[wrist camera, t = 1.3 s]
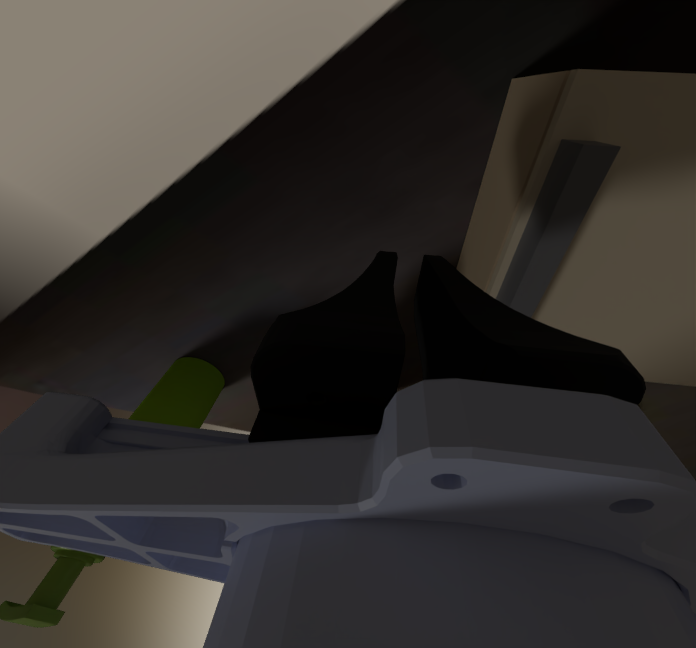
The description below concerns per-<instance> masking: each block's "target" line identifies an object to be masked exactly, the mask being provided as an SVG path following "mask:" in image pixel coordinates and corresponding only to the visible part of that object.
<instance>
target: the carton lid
mask: <svg viewBox="0 0 696 648" xmlns="http://www.w3.org/2000/svg"><path fill="white" fill-rule="evenodd" d="M486 293H487V294H489V295H490V296H492V297H493V298H495V299H496V300H498V301H500V302H502V303H503V304H505V305H507V306H508V307H510V308H512V309H514V310H516V311H518V312H520V313H522V314H524V315H526V316H528V317H530V318H532V319H534V320H537V321H539V322H541V323H544V324H546V325H548V326H551V327H554V328H556V329H559V330H562V331H564V332H567V333H570V334H572V335H575V336H578V337H581V338H585V339H588V340H591V341H595V342H598V343H601V344H604V345H608V346H611V347H614V348H617V349H620V350H621V351H622V353H623V354H624V355H625V356H626V357H627V359H628V360H629V361H630V362H631V363H632V364H633V366H634V367H635V368H636V369H637V370H638V372H639V373H640V374H641V375H642V376H643V378H644V381H647V382H656V383H666V384H675V385H685V386H694V387H696V74H690V73H665V72H640V71H615V70H591V69H575V70H571V71H570V74H569V77H568V79H567V82H566V84H565V87H564V90H563V92H562V95H561V97H560V100H559V103H558V105H557V108H556V111H555V113H554V116H553V118H552V121H551V124H550V126H549V129H548V131H547V134H546V137H545V139H544V142H543V144H542V147H541V150H540V152H539V155H538V158H537V160H536V163H535V165H534V168H533V171H532V173H531V176H530V178H529V181H528V184H527V186H526V189H525V192H524V194H523V197H522V199H521V202H520V205H519V207H518V210H517V212H516V215H515V218H514V220H513V223H512V225H511V228H510V231H509V233H508V236H507V239H506V241H505V244H504V246H503V249H502V252H501V254H500V257H499V259H498V262H497V265H496V267H495V270H494V273H493V275H492V278H491V280H490V283H489V286H488V288H487V291H486Z"/></svg>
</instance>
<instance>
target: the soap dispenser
mask: <svg viewBox="0 0 696 648" xmlns="http://www.w3.org/2000/svg"><path fill="white" fill-rule="evenodd" d="M224 384H225V381H224V377H223V375H222V374H221V373H220V371H219V370H218V369H217V368H216V367H214V366H213V365H211V364H210V363H208V362H206V361H204V360H201V359H198V358H193V357H183V358H180V359H178V360H176V361H175V362H174V363H173V365H172V366H171V367H170V368H169V370H168V371H167V372H166V373H165V374H164V376H163V377H162V378H161V379H160V381H159V382H158V383H157V384H156V386H155V387H154V388H153V389H152V391H151V392H150V393H149V394H148V395H147V397H146V398H145V399H144V400H143V402H142V403H141V404H140V405H139V407H138V408H137V409H136V410H135V411H134V413H133V414H132V415H131V416H130V418H129V419H130V420H138V421H146V422H153V423H161V424H169V425H176V426H184V427H192V428H199V429H200V427H201V425H202V424H203V422H204V420H205V418H206V417H207V415H208V413H209V412H210V410H211V408H212V406H213V405H214V403H215V401H216V399H217V398H218V396H219V394H220V392H221V391H222V389H223V387H224ZM51 550H52V551H54V552H55V554H54V557H55V558H57V561H56V562H55V564H54V565H53V566H52V568H51V569H50V571H49V572H48V573H47V575H46V576H45V578H44V579H43V580H42V582H41V583H40V585H39V586H38V587H37V589H36V590H35V592H34V593H33V595H32V596H31V597H30V599H29V600H28V601H27V603H26V604H25V605H21V604H17V603H13V602H9V601H5V602H3V603H2V604H1V605H0V619H2V620H4V621H9V622H13V623H18V624H22V625H27V626H33V627H48V626H54V625H57V624H58V623H59V621H60V619H61V618H62V616H63V615H64V613H65V612H64V611H60V610H56V609H57V608H58V606H59V605H60V603H61V602H62V600H63V599H64V597H65V595H66V594H67V592H68V591H69V589H70V588H71V586H72V585H73V583H74V582H75V580H76V578H77V577H78V575H79V574H80V572H81V571H82V569H83V568H84V566H91V565H92V564H93V563H100V562H102V561H103V560H104V558H105V557H106V556H101V555H97V554H92V553H87V552H82V551H77V550H72V549H67V548H62V547H56V546H51Z"/></svg>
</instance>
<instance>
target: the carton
mask: <svg viewBox="0 0 696 648" xmlns="http://www.w3.org/2000/svg"><path fill="white" fill-rule="evenodd" d="M569 74H570V71H561V72H555V73H548V74H541V75H534V76H528V77H521V78H514V79H512V81H511V84H510V88H509V91H508V95H507V98H506V101H505V105H504V108H503V112H502V115H501V119H500V122H499V125H498V129H497V132H496V136H495V139H494V142H493V146H492V149H491V153H490V156H489V159H488V163H487V166H486V170H485V173H484V176H483V180H482V183H481V187H480V190H479V193H478V197H477V200H476V204H475V207H474V211H473V214H472V217H471V221H470V224H469V228H468V231H467V234H466V238H465V241H464V245H463V248H462V251H461V255H460V258H459V262H458V265H457V268H456V269H457V270H458V271H459V272H460V273H461V274H463V275H464V276H465V277H466V278H467V279H469V280H470V281H471V282H472V283H474V284H475V285H476V286H477V287H479V288H480V289H482V290H483V291H484V292H486V291H487V288H488V286H489V283H490V280H491V278H492V275H493V273H494V270H495V267H496V265H497V262H498V259H499V257H500V254H501V252H502V249H503V246H504V244H505V241H506V239H507V236H508V233H509V231H510V228H511V225H512V223H513V220H514V218H515V215H516V212H517V210H518V207H519V205H520V202H521V199H522V197H523V194H524V192H525V189H526V186H527V184H528V181H529V178H530V176H531V173H532V171H533V168H534V165H535V163H536V160H537V158H538V155H539V152H540V150H541V147H542V144H543V142H544V139H545V137H546V134H547V131H548V129H549V126H550V124H551V121H552V118H553V116H554V113H555V111H556V108H557V105H558V103H559V100H560V97H561V95H562V92H563V90H564V87H565V84H566V82H567V79H568V77H569Z"/></svg>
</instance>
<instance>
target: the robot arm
mask: <svg viewBox="0 0 696 648" xmlns="http://www.w3.org/2000/svg"><path fill="white" fill-rule="evenodd" d="M397 259H398V257H397V253H396V252H385V251H380V252H378V253H377V255H376V257H375V259H374V260H373V262H372V263H371V264H370V266H369V267H368V268H367V269H366V270H365V272H364V273H363V274H362V275H361V276H360V277H359V278H358V279H357V280H356V281H355V282H353V283H352V284H351V285H350V286H349V287H347V288H346V289H345V290H343V291H342V292H340V293H338V294H336V295H335V296H333V297H331V298H329V299H327V300H325V301H323V302H321V303H318V304H316V305H313V306H310V307H308V308H305V309H301V310H297V311H294V312H290V313H286V314H282V315H279V316H278V318H277V319H276V321H275V322H274V323H273V325H272V326H271V327H270V329H269V330H268V332H267V333H266V335H265V336H264V338H263V340H262V342H261V344H260V346H259V348H258V350H257V352H256V354H255V356H254V358H253V361H252V364H251V378H252V382H253V386H254V390H255V393H256V397H257V401H258V405H259V409H260V411H259V413H258V415H257V418H256V420H255V423H254V425H253V428H252V430H251V433H250V435H245V434H237V433H230V432H222V431H215V430H207V429H199V428H192V427H184V426H176V425H169V424H161V423H153V422H146V421H138V420H130V419H122V418H114V417H112V415H111V413H110V412H109V410H108V409H107V407H106V406H105V405H104V404H103V403H101V402H100V401H98V400H96V399H94V398H91V397H88V396H81V395H73V394H65V393H57V392H46V393H45V394H44V395H43V396H42V397H41V398H40V399H39V400H37V401H36V402H35V403H34V404H33V405H32V406H31V407H29V408H28V409H27V410H26V411H25V412H24V413H23V414H22V415H20V416H19V417H18V418H17V419H16V420H15V421H14V422H13V423H11V424H10V425H9V426H8V427H7V428H6V429H5V430H3V431H2V432H1V433H0V531H1V532H3V533H5V534H7V535H9V536H12V537H14V538H16V539H18V540H22V541H28V542H34V543H39V544H45V545H51V546H56V547H62V548H67V549H72V550H77V551H82V552H87V553H92V554H97V555H101V556H106V557H110V558H115V559H120V560H124V561H129V562H133V563H138V564H142V565H146V566H151V567H155V568H159V569H164V570H169V571H173V572H177V573H181V574H186V575H190V576H195V577H200V578H203V579H208V580H212V581H217V582H221V583H225V584H224V587H223V590H222V593H221V596H220V599H219V602H218V605H217V607H216V611H215V614H214V617H213V620H212V623H211V626H210V628H209V632H208V634H207V637H206V640H205V643H204V646H203V648H696V481H695V479H694V478H693V477H692V476H691V474H690V473H689V472H688V470H687V469H686V468H685V466H684V465H683V464H682V463H681V461H680V460H679V459H678V457H677V456H676V455H675V453H674V452H673V451H672V450H671V448H670V447H669V446H668V444H667V443H666V442H665V440H664V439H663V438H662V437H661V435H660V434H659V433H658V431H657V430H656V429H655V427H654V426H653V425H652V424H651V422H650V421H649V420H648V418H647V417H646V416H645V414H644V413H643V412H642V410H641V409H640V408H639V407H638V404H639V403H640V402H641V400H642V398H643V395H644V393H645V390H646V386H645V381H644V378H643V376H642V375H641V374H640V373H639V372H638V370H637V369H636V368H635V367H634V366H633V364H632V363H631V362H630V361H629V360H628V359H627V357H626V356H625V355H624V354H623V353H622V351H621V350H620V349H617V348H614V347H611V346H608V345H604V344H601V343H598V342H595V341H591V340H588V339H585V338H581V337H578V336H575V335H572V334H570V333H567V332H564V331H562V330H559V329H556V328H554V327H551V326H548V325H546V324H544V323H541V322H539V321H537V320H534V319H532V318H530V317H528V316H526V315H524V314H522V313H520V312H518V311H516V310H514V309H512V308H510V307H508V306H507V305H505V304H503V303H502V302H500V301H498V300H496V299H495V298H493V297H492V296H490V295H489V294H487V293H486V292H484V291H483V290H482V289H480V288H479V287H477V286H476V285H475V284H474V283H472V282H471V281H470V280H469V279H467V278H466V277H465V276H464V275H463V274H461V273H460V272H459V271H458V270H457V269H456V268H455V267H453V266H452V265H451V264H450V263H449V262H448V261H447V260H445V259H444V258H443V257H441V256H433V255H424V257H423V262H422V266H421V271H420V276H419V280H418V285H417V290H416V294H415V299H414V320H415V327H416V333H417V339H418V345H419V351H420V357H421V363H422V372H423V381H421V382H418V383H416V384H414V385H412V386H409V387H407V388H405V389H403V390H400V391H398V392H397V387H398V383H399V378H400V374H401V369H402V365H403V360H404V356H405V337H404V333H403V330H402V328H401V325H400V322H399V319H398V315H397V310H396V304H395V297H394V286H393V285H394V279H395V272H396V266H397Z"/></svg>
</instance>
